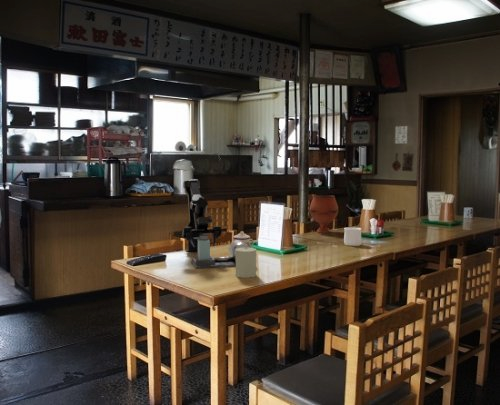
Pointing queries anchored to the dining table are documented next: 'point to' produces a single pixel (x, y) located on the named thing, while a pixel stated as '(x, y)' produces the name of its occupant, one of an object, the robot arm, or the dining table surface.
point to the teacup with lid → (243, 238)
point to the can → (245, 262)
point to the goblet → (323, 211)
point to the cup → (352, 236)
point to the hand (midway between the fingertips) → (204, 246)
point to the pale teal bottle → (203, 248)
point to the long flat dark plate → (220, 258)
